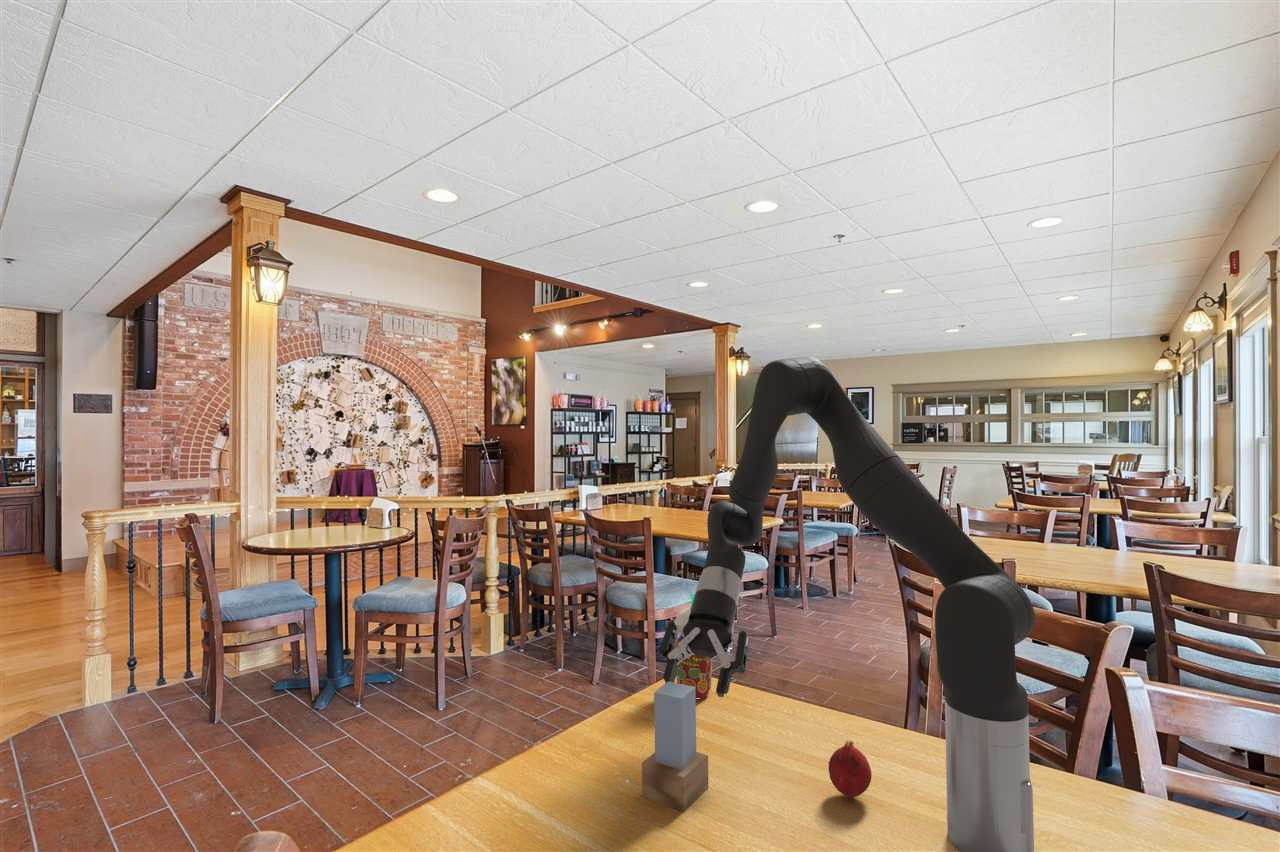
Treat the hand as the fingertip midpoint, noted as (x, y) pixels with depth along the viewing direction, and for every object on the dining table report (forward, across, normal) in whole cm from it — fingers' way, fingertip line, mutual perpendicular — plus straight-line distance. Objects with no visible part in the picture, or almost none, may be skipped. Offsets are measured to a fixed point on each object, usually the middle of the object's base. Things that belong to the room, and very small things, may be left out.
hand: (693, 690), depth 97 cm
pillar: (+10, 0, -1) cm, 11 cm away
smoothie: (-9, -10, +26) cm, 29 cm away
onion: (+8, +23, +9) cm, 26 cm away
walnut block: (+14, 0, +3) cm, 14 cm away
